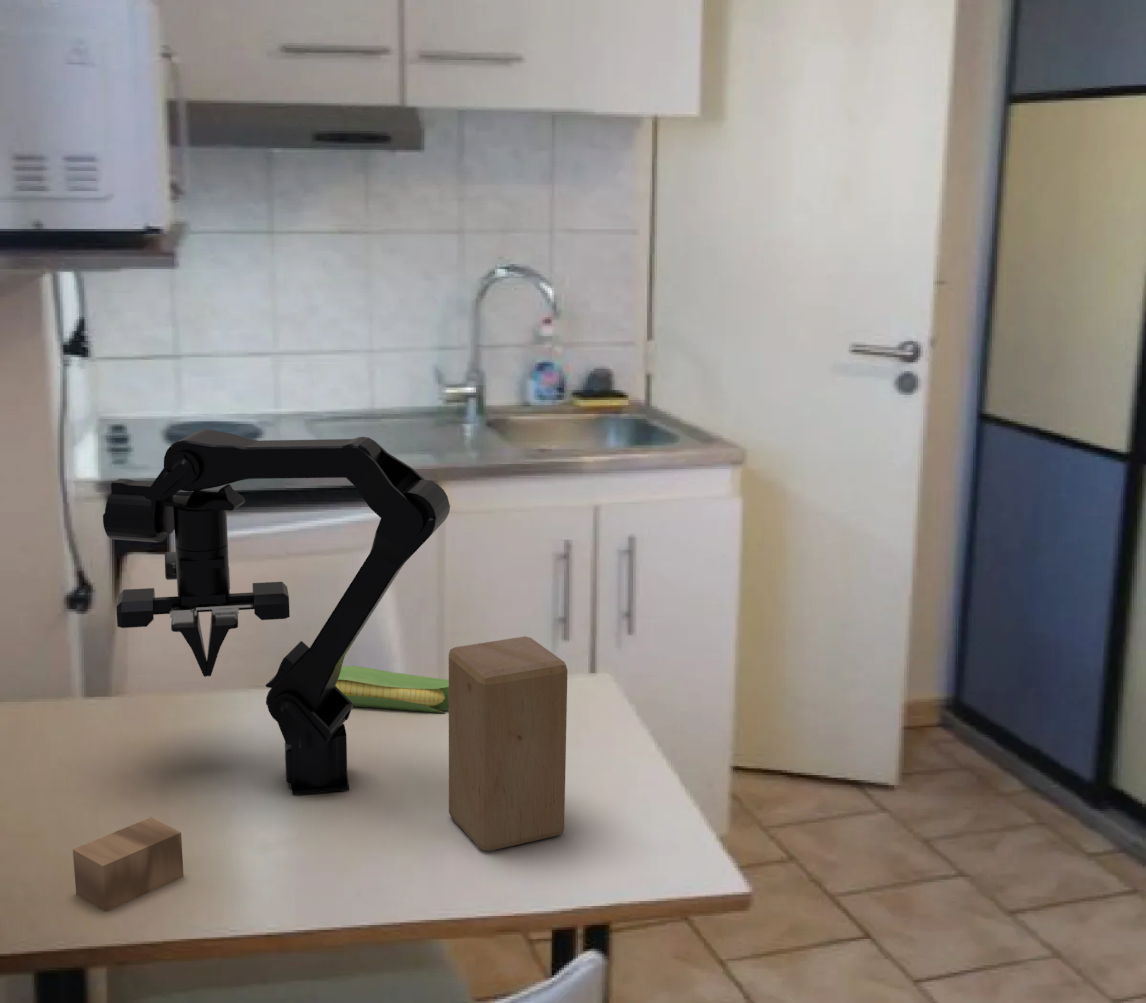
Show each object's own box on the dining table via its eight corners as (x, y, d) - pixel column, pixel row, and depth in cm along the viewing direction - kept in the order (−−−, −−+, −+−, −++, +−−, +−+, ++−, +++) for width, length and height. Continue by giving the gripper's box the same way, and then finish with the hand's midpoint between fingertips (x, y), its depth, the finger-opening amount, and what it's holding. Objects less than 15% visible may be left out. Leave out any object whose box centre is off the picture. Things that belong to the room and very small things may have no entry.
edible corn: (329, 661, 196) (318, 664, 191) (476, 678, 192) (469, 681, 188) (325, 700, 195) (314, 704, 191) (472, 718, 192) (465, 722, 188)
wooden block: (482, 856, 154) (483, 676, 149) (445, 816, 162) (445, 645, 157) (567, 837, 158) (571, 662, 153) (527, 799, 167) (529, 632, 162)
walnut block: (150, 817, 150) (72, 849, 144) (181, 832, 147) (102, 866, 141) (153, 861, 152) (76, 895, 145) (183, 877, 149) (106, 913, 142)
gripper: (283, 521, 175) (286, 646, 179) (118, 528, 170) (126, 655, 174) (287, 548, 164) (291, 679, 168) (112, 556, 160) (120, 691, 164)
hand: (207, 675), depth 169 cm, fingers closed
